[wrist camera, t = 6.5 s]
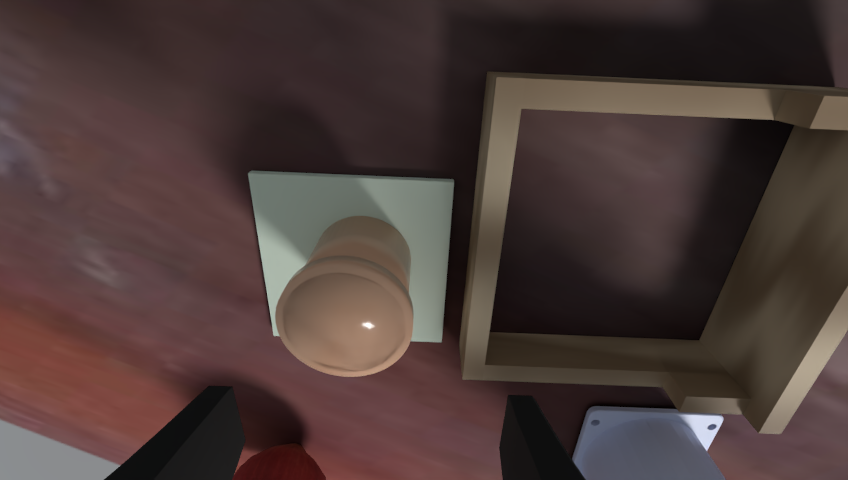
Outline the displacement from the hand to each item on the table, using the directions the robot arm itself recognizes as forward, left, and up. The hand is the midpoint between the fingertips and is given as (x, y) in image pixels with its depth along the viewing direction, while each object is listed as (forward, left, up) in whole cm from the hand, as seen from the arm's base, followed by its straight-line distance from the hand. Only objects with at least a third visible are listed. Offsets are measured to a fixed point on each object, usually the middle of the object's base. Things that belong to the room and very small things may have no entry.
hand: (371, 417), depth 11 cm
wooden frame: (+1, -10, -10) cm, 15 cm away
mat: (-1, +2, -10) cm, 10 cm away
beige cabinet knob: (-1, +2, -10) cm, 10 cm away
